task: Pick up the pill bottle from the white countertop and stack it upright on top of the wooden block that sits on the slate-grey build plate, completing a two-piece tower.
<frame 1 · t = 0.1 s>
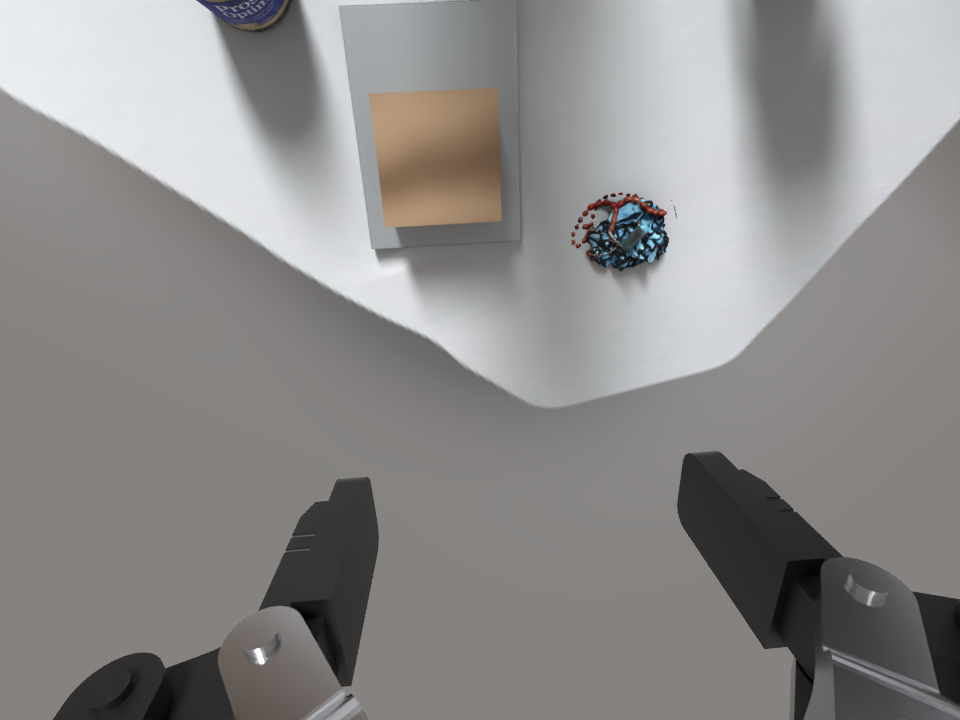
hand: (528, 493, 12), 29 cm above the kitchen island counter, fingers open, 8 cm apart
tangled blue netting: (621, 231, 39), on the kitchen island counter
build plate: (438, 135, 35), on the kitchen island counter
wooden block: (440, 163, 34), point 1 cm above the kitchen island counter, touching build plate
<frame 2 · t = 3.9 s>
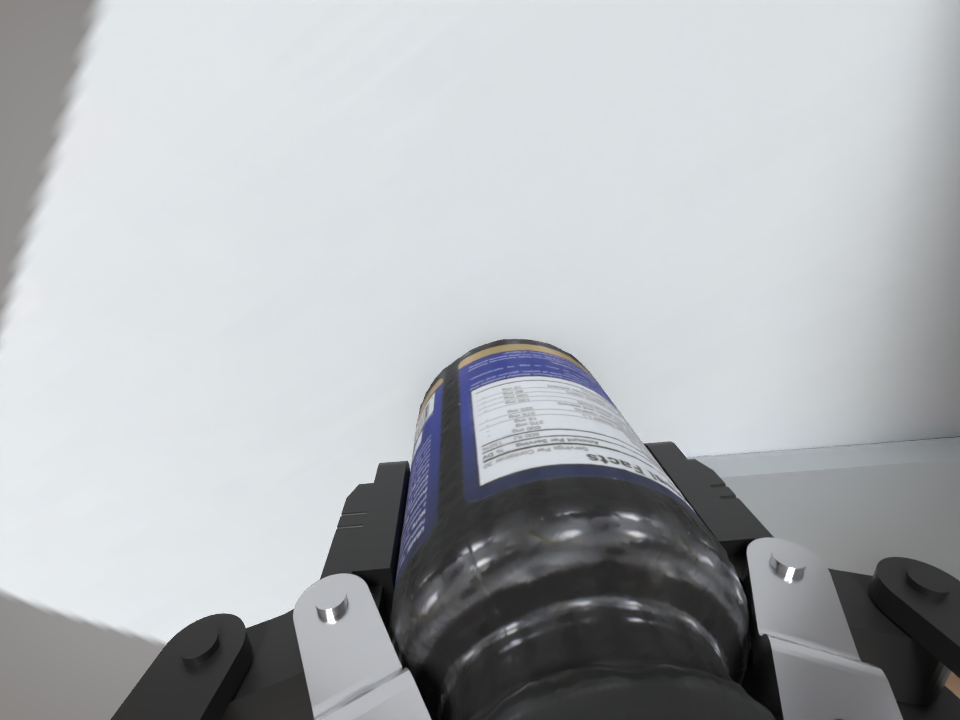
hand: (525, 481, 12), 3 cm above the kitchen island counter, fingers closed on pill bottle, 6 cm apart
build plate: (799, 608, 19), on the kitchen island counter
pill bottle: (510, 417, 15), on the kitchen island counter, touching gripper
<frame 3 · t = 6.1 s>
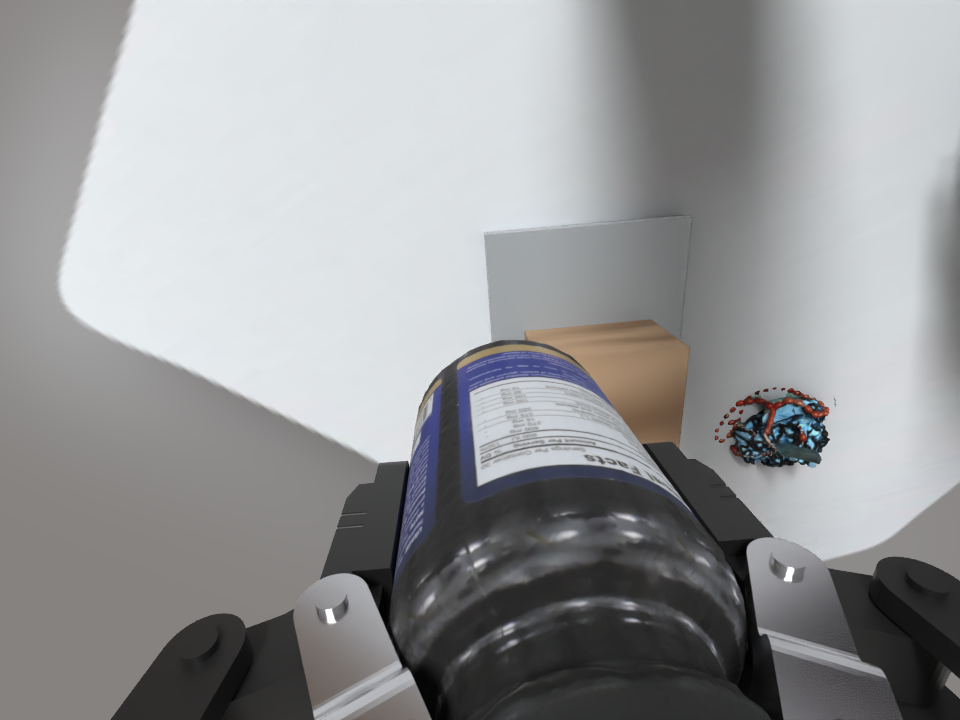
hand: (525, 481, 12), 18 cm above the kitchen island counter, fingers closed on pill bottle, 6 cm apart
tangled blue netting: (769, 420, 34), on the kitchen island counter
build plate: (582, 348, 30), on the kitchen island counter
wooden block: (587, 382, 30), point 1 cm above the kitchen island counter, touching build plate
pill bottle: (509, 418, 15), point 15 cm above the kitchen island counter, touching gripper
when the fingers open (10 cm above the kitchen island counter, at t = 8.5 s): pill bottle stays where it is, resting on wooden block.
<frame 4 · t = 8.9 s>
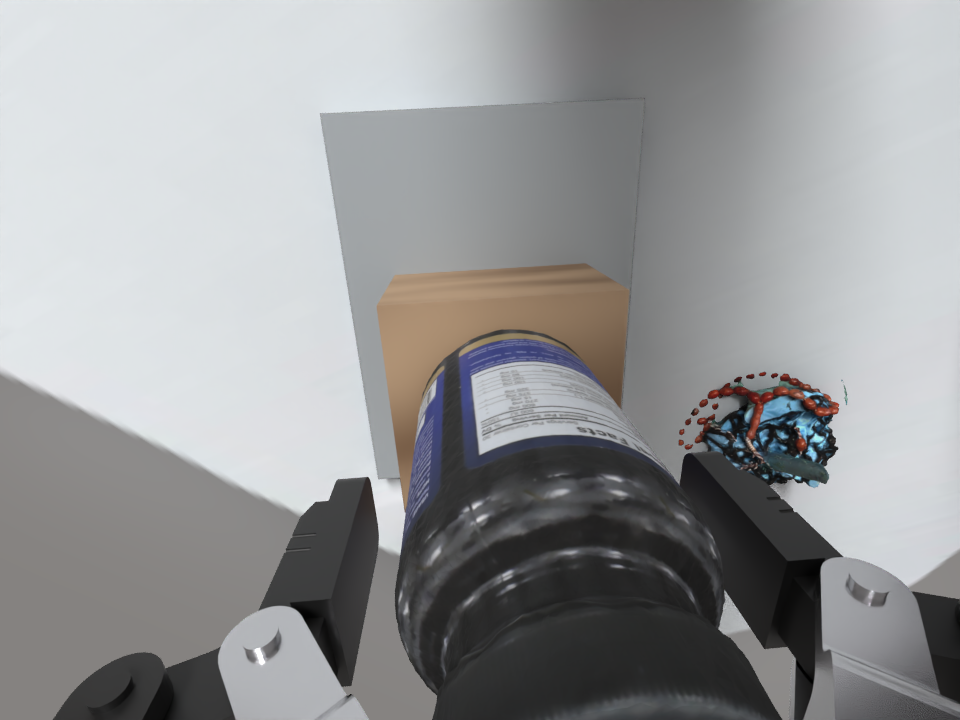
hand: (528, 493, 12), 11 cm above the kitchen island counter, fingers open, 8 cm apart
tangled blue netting: (754, 420, 25), on the kitchen island counter
build plate: (490, 308, 21), on the kitchen island counter
wooden block: (494, 358, 20), point 1 cm above the kitchen island counter, touching build plate, pill bottle
pill bottle: (508, 405, 16), point 6 cm above the kitchen island counter, touching wooden block
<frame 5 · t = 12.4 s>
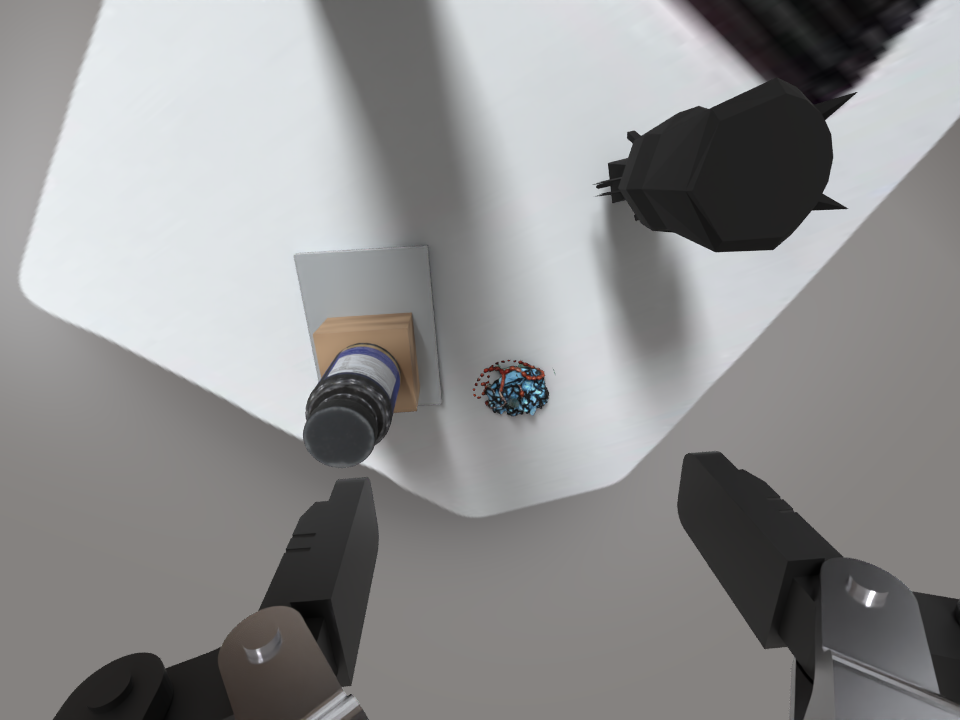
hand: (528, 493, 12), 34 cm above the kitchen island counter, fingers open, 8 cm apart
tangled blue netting: (513, 384, 49), on the kitchen island counter
toy: (620, 177, 41), on the kitchen island counter
build plate: (374, 331, 45), on the kitchen island counter
wooden block: (375, 354, 45), point 1 cm above the kitchen island counter, touching build plate, pill bottle
pill bottle: (367, 372, 40), point 6 cm above the kitchen island counter, touching wooden block
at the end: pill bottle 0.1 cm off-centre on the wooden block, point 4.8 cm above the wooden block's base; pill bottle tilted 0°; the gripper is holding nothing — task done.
